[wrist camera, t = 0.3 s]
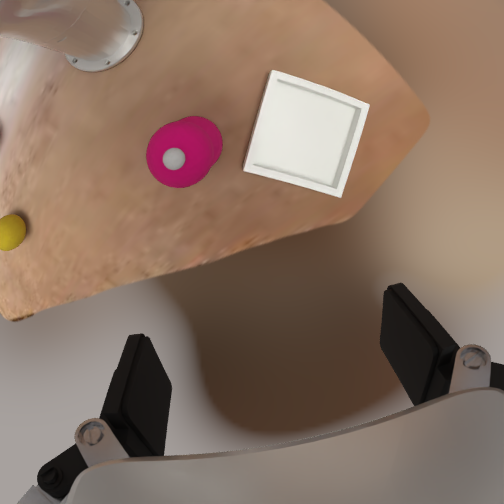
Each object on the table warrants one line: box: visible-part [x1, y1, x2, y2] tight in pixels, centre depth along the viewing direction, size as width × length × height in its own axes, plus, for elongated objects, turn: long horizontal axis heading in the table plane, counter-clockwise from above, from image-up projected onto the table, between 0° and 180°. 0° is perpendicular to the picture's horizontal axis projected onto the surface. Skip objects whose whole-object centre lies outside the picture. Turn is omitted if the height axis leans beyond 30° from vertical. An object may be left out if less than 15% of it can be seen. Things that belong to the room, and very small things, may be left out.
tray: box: [242, 70, 370, 198], centre depth 40 cm, size 14×14×3 cm
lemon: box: [0, 214, 26, 251], centre depth 39 cm, size 6×6×8 cm
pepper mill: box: [146, 116, 223, 188], centre depth 32 cm, size 7×7×20 cm
